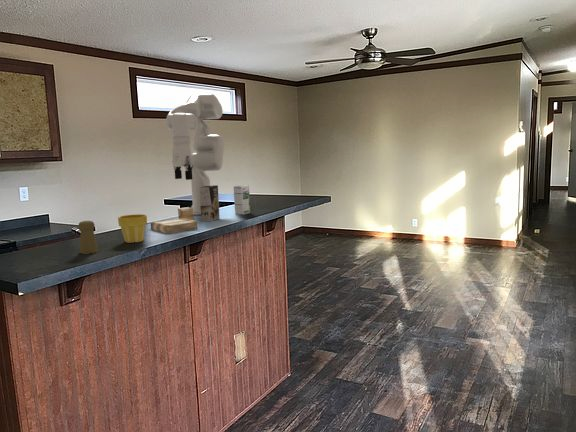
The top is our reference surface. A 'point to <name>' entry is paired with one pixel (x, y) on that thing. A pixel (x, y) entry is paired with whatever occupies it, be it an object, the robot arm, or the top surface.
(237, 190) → the syrup box
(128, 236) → the plant pot
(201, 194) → the coffee box
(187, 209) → the tan upright block
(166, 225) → the dock
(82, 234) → the cork
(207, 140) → the robot arm
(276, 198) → the top surface
